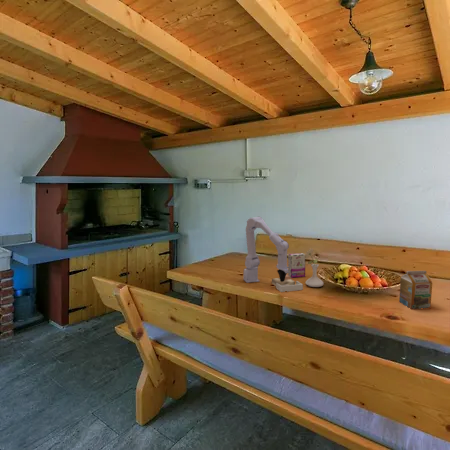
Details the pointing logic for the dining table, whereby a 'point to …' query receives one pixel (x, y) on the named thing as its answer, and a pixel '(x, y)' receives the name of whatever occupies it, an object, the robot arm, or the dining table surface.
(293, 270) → the candy bar box
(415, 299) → the milk carton
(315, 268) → the flower in vase
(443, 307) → the dining table surface
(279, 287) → the tray
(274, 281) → the birch board
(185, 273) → the dining table surface
